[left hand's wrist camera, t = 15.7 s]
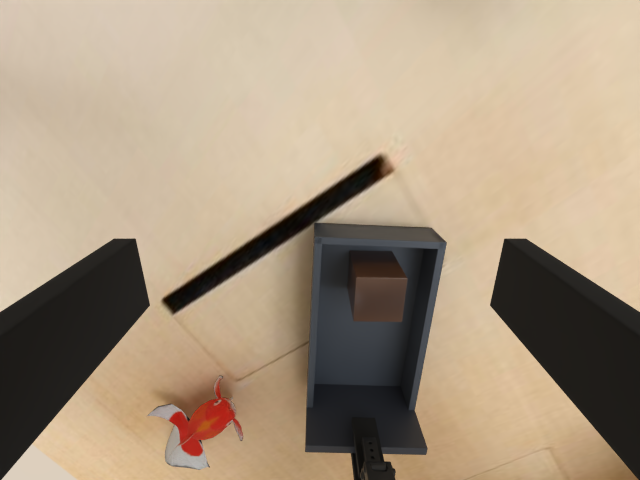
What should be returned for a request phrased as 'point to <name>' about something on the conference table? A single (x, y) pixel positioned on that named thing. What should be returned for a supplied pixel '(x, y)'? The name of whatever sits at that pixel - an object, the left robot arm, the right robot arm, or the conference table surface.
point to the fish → (196, 429)
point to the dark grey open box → (368, 340)
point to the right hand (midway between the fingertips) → (362, 429)
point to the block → (376, 286)
